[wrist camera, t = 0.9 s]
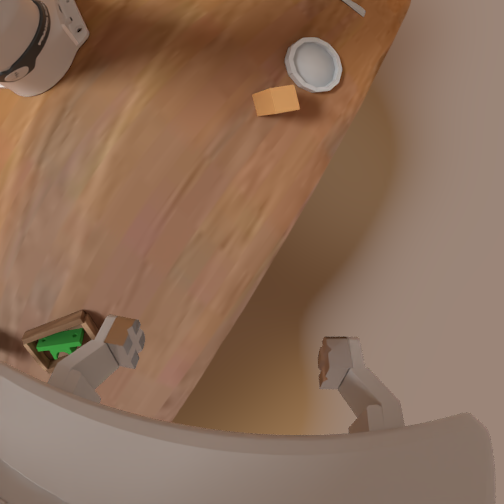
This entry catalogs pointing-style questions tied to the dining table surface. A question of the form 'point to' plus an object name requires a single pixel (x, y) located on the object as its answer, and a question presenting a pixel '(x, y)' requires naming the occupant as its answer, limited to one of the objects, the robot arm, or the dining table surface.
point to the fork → (355, 7)
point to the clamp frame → (54, 328)
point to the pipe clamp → (61, 342)
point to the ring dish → (313, 65)
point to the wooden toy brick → (276, 100)
